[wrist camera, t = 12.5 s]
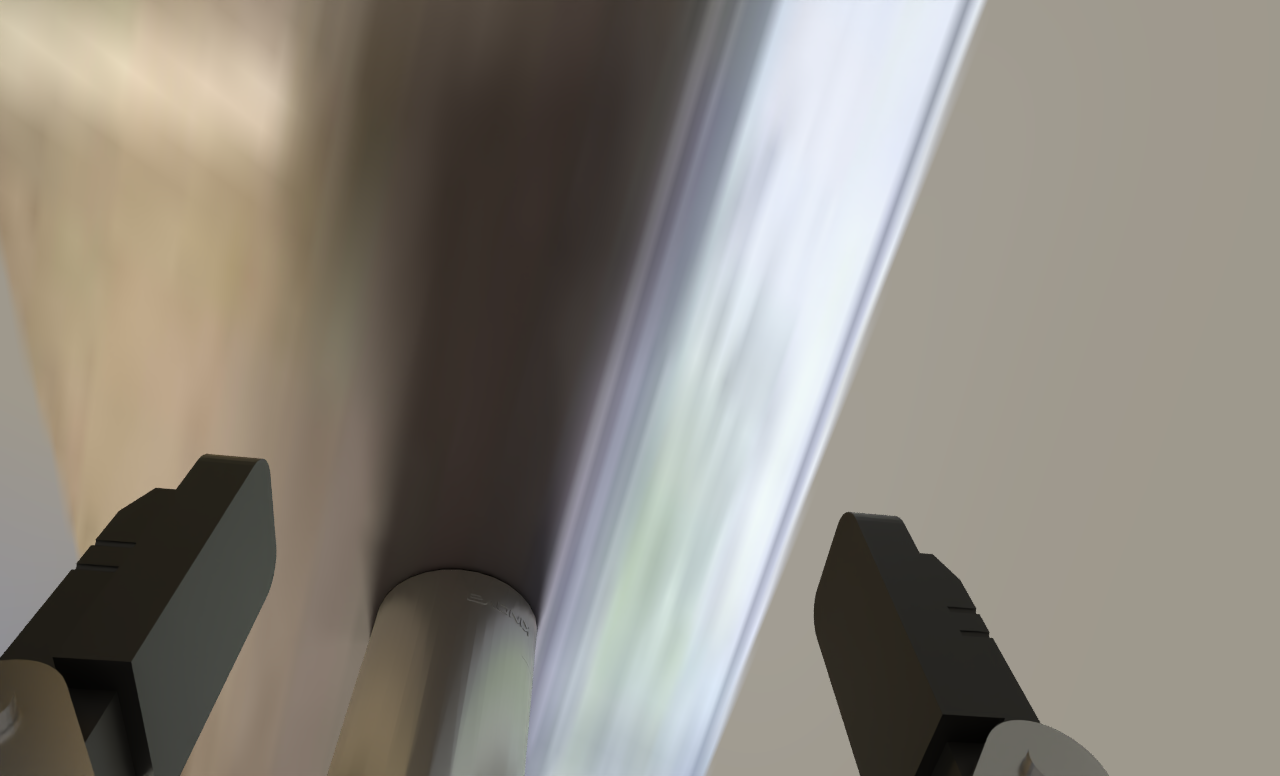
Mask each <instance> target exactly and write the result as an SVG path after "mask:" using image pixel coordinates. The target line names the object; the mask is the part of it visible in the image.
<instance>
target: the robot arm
mask: <svg viewBox="0 0 1280 776" xmlns="http://www.w3.org/2000/svg"><path fill="white" fill-rule="evenodd" d="M275 563H276V539H275V526H274V514H273V501H272V489H271V477H270V469H269V465H268V463H267V461H266V460H265V459H258V458H247V457H236V456H224V455H213V454H205V455H203V456H201V457H200V458H199V459H198V461H197V462H196V463H195V465H194V466H193V467H192V469H191V470H190V471H189V473H188V474H187V475H186V477H185V478H184V479H183V481H182V482H181V484H180V485H179V486H178V488H177V489H176V490H175V489H163V488H155V489H153V490H152V491H150V492H148V493H147V494H145V495H144V496H142V497H140V498H139V499H137V500H136V501H134V502H133V503H131V504H129V505H128V506H126V507H125V508H123V509H121V510H120V511H119V512H118V513H117V514H116V515H115V517H114V518H113V519H112V520H111V521H110V523H109V524H108V525H107V526H106V528H105V529H104V530H103V531H102V533H101V534H100V535H99V536H98V538H97V539H96V543H95V546H94V545H91V546H90V547H89V549H88V550H87V551H86V552H85V554H84V555H83V556H82V557H81V559H80V560H79V561H78V562H77V567H76V569H75V570H71V571H70V572H69V573H68V575H67V576H66V577H65V578H64V580H63V581H62V582H61V583H60V584H59V586H58V587H57V588H56V589H55V591H54V592H53V593H52V595H51V596H50V597H49V598H48V599H47V601H46V602H45V603H44V604H43V606H42V607H41V608H40V609H39V611H38V612H37V613H36V614H35V615H34V617H33V618H32V619H31V621H30V622H29V623H28V624H27V625H26V626H25V628H24V629H23V631H21V633H20V634H19V635H18V637H17V638H16V639H15V640H14V642H13V643H12V644H11V645H10V646H9V647H8V649H7V650H6V651H5V652H4V654H3V655H2V656H1V657H0V776H180V774H181V772H182V770H183V768H184V766H185V764H186V762H187V760H188V758H189V756H190V754H191V752H192V749H193V747H194V745H195V743H196V741H197V739H198V737H199V735H200V733H201V731H202V729H203V727H204V725H205V723H206V721H207V719H208V717H209V715H210V712H211V710H212V708H213V706H214V704H215V702H216V700H217V698H218V696H219V694H220V692H221V690H222V688H223V686H224V684H225V682H226V680H227V677H228V675H229V673H230V671H231V669H232V667H233V665H234V663H235V661H236V659H237V657H238V655H239V653H240V651H241V649H242V647H243V645H244V642H245V640H246V638H247V636H248V634H249V632H250V630H251V628H252V626H253V624H254V622H255V620H256V618H257V616H258V614H259V612H260V610H261V607H262V605H263V603H264V601H265V599H266V597H267V595H268V593H269V590H270V587H271V583H272V580H273V576H274V570H275ZM814 625H815V632H816V636H817V640H818V643H819V646H820V649H821V652H822V655H823V659H824V662H825V665H826V668H827V671H828V674H829V678H830V681H831V684H832V687H833V690H834V693H835V696H836V700H837V703H838V706H839V709H840V713H841V716H842V719H843V722H844V725H845V729H846V732H847V735H848V738H849V741H850V745H851V748H852V751H853V754H854V757H855V760H856V764H857V767H858V770H859V773H860V776H1109V775H1108V773H1107V772H1106V770H1105V769H1104V768H1103V766H1102V765H1101V764H1100V763H1099V762H1098V760H1097V759H1096V758H1095V757H1094V756H1093V755H1092V754H1091V753H1090V752H1089V751H1088V750H1086V749H1085V748H1084V747H1083V746H1082V745H1080V744H1079V743H1078V742H1076V741H1075V740H1074V739H1072V738H1070V737H1069V736H1067V735H1065V734H1064V733H1062V732H1060V731H1058V730H1056V729H1054V728H1052V727H1049V726H1046V725H1043V724H1041V723H1040V721H1039V720H1038V718H1037V716H1036V714H1035V712H1034V711H1033V709H1032V707H1031V705H1030V704H1029V702H1028V700H1027V698H1026V696H1025V695H1024V693H1023V691H1022V689H1021V688H1020V686H1019V684H1018V682H1017V681H1016V679H1015V677H1014V675H1013V673H1012V672H1011V670H1010V668H1009V666H1008V664H1007V663H1006V661H1005V659H1004V657H1003V655H1002V654H1001V652H1000V650H999V649H998V647H997V645H996V643H995V641H994V639H993V638H989V631H988V629H987V627H986V625H985V623H984V622H983V620H982V618H981V617H980V615H979V614H976V607H975V606H974V604H973V602H972V600H971V598H970V597H969V595H968V593H967V591H966V590H965V588H964V586H963V584H962V582H961V581H960V580H959V579H958V578H957V577H956V576H955V575H954V574H953V573H952V572H951V571H950V570H949V569H948V568H947V567H946V566H945V565H944V564H942V563H941V562H940V561H939V560H938V559H937V558H936V557H935V556H934V555H933V554H923V553H919V551H918V549H917V547H916V546H915V544H914V542H913V540H912V538H911V536H910V534H909V532H908V530H907V528H906V526H905V524H904V523H903V521H902V520H901V519H900V518H899V517H897V516H887V515H876V514H865V513H852V512H846V513H845V514H843V516H842V517H841V519H840V521H839V523H838V526H837V529H836V532H835V535H834V538H833V541H832V545H831V548H830V551H829V554H828V557H827V560H826V563H825V566H824V570H823V573H822V576H821V579H820V582H819V585H818V589H817V592H816V596H815V603H814ZM536 636H537V625H536V619H535V616H534V614H533V611H532V609H531V607H530V605H529V604H528V603H527V602H526V601H525V599H524V598H523V597H522V596H521V595H520V594H519V593H518V592H517V591H515V590H514V589H513V588H511V587H510V586H509V585H507V584H505V583H503V582H501V581H499V580H497V579H496V578H494V577H490V576H487V575H484V574H481V573H478V572H472V571H465V570H437V571H431V572H425V573H422V574H420V575H417V576H414V577H411V578H409V579H407V580H405V581H404V582H402V583H400V584H399V585H397V586H396V587H395V588H394V589H393V590H392V591H391V592H389V593H388V594H387V595H386V597H385V599H384V600H383V602H382V604H381V605H380V608H379V611H378V614H377V617H376V620H375V624H374V627H373V630H372V633H371V636H370V640H369V643H368V646H367V649H366V652H365V656H364V659H363V662H362V664H361V668H360V671H359V674H358V677H357V681H356V684H355V687H354V690H353V693H352V697H351V700H350V703H349V706H348V710H347V713H346V716H345V719H344V723H343V726H342V729H341V732H340V735H339V739H338V742H337V745H336V748H335V752H334V755H333V758H332V761H331V765H330V768H329V771H328V774H327V776H524V774H525V763H526V752H527V740H528V729H529V717H530V706H531V694H532V684H533V671H534V659H535V647H536Z"/></svg>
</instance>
